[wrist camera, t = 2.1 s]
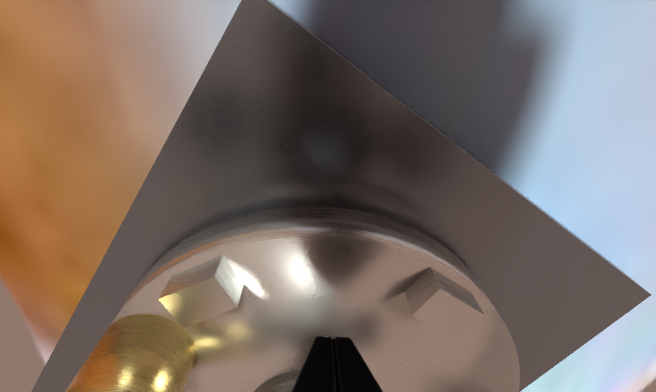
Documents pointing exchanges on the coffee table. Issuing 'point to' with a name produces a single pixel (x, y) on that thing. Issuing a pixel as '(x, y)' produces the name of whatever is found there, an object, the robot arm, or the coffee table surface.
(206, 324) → the silver round platform
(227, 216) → the base plate
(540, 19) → the coffee table surface
